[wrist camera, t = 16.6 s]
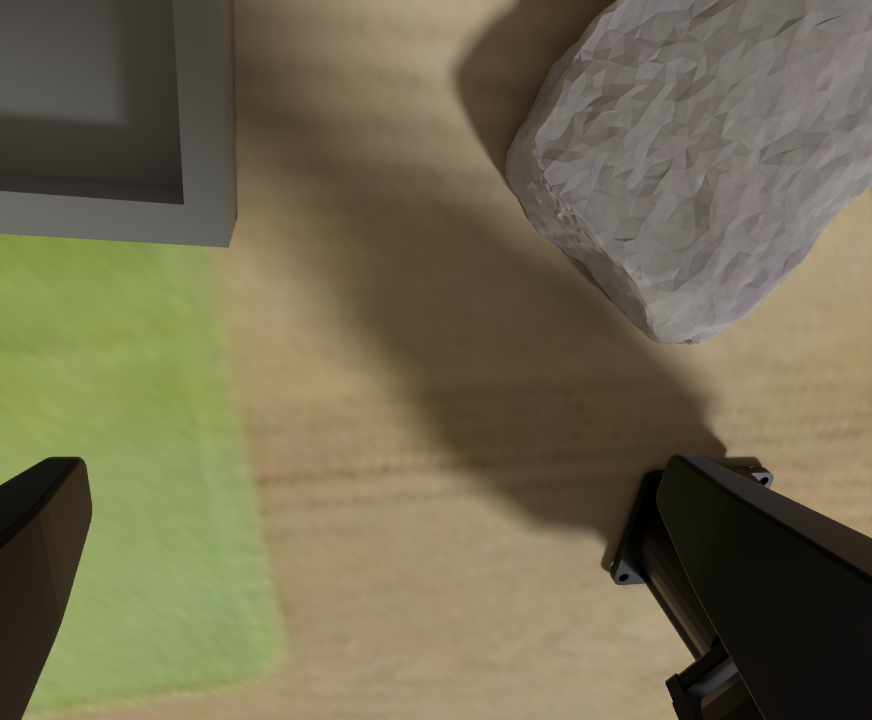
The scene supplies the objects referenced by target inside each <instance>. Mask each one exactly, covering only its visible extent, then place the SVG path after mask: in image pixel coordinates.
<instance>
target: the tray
mask: <svg viewBox="0 0 872 720" xmlns="http://www.w3.org/2000/svg"><path fill="white" fill-rule="evenodd" d="M236 220H237V173H236V116H235V58H234V1H233V0H0V234H15V235H31V236H48V237H64V238H81V239H97V240H114V241H130V242H146V243H163V244H179V245H196V246H212V247H229V244H230V240H231V237H232V234H233V230H234V227H235V223H236Z"/></svg>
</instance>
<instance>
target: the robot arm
mask: <svg viewBox="0 0 872 720" xmlns="http://www.w3.org/2000/svg"><path fill="white" fill-rule="evenodd" d="M656 481H657V482H656ZM655 482H656V483H655ZM772 482H773V475H772V474H771V473H770V472H769V471H768V470H767V469H766V468H763V467H753V468H724V467H722V466H720V465H718V464H716V463H714V462H712V461H710V460H708V459H706V458H704V457H702V456H699V455H696V454H675V455H673V456H672V457H671V458H670V459H669V460H668V462H667V465H666V468H665V470H656V471H652V472H650V473H648V474H647V475H646V476H645V477H644V479H643V481H642V484H641V487H640V489H639V492H638V495H637V498H636V501H635V504H634V506H633V509H632V512H631V515H630V518H629V521H628V524H627V526H626V529H625V532H624V535H623V538H622V541H621V544H620V546H619V549H618V552H617V555H616V558H615V561H614V563H613V566H612V569H611V572H610V575H611V577H612V579H613V581H614V582H615V584H617V585H630V584H642V583H646V585H647V586H648V588H649V590H650V591H651V593H652V594H653V596H654V597H655V599H656V600H657V602H658V603H659V605H660V606H661V608H662V609H663V611H664V612H665V614H666V616H667V617H668V619H669V620H670V622H671V623H672V625H673V626H674V628H675V629H676V631H677V632H678V634H679V635H680V637H681V638H682V640H683V642H684V643H685V645H686V646H687V648H688V649H689V651H690V652H691V654H692V655H693V657H694V658H695V660H696V661H695V662H694V663H692V664H691V665H690V666H689V667H687V668H686V669H685V670H683V671H682V672H681V673H680V674H676V673H675V674H674V675H673V676H672V677H670V678H669V679H668V680H666V681H665V683H666V686H667V688H668V690H669V693H670V695H671V698H672V700H673V703H672V704H673V707H674V709H675V712H676V714H677V717H678V719H679V720H872V538H870V537H868V536H866V535H864V534H862V533H860V532H858V531H855V530H853V529H851V528H849V527H847V526H845V525H843V524H841V523H839V522H837V521H835V520H833V519H831V518H828V517H826V516H824V515H822V514H820V513H818V512H816V511H814V510H812V509H810V508H808V507H806V506H804V505H801V504H799V503H797V502H795V501H793V500H791V499H789V498H787V497H785V496H783V495H781V494H779V493H776V492H774V491H772V490H770V489H769V488H770V486H771V484H772ZM91 518H92V501H91V494H90V487H89V480H88V474H87V467H86V464H85V462H84V460H83V459H82V458H80V457H49V458H46V459H44V460H43V461H41V462H39V463H37V464H36V465H34V466H32V467H31V468H29V469H27V470H25V471H24V472H22V473H20V474H19V475H17V476H15V477H13V478H12V479H10V480H8V481H7V482H5V483H3V484H2V485H0V720H21V719H22V717H23V715H24V712H25V710H26V707H27V705H28V703H29V700H30V698H31V696H32V693H33V691H34V689H35V686H36V684H37V681H38V679H39V677H40V674H41V672H42V670H43V667H44V665H45V662H46V660H47V658H48V655H49V653H50V651H51V648H52V646H53V643H54V641H55V638H56V636H57V633H58V631H59V628H60V626H61V623H62V619H63V616H64V613H65V610H66V607H67V603H68V600H69V596H70V593H71V589H72V586H73V582H74V579H75V575H76V572H77V568H78V565H79V561H80V558H81V554H82V551H83V547H84V544H85V540H86V537H87V533H88V530H89V526H90V523H91Z"/></svg>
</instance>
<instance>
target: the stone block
mask: <svg viewBox="0 0 872 720" xmlns="http://www.w3.org/2000/svg"><path fill="white" fill-rule="evenodd" d="M505 159H506V166H505V174H504V175H505V177H506V178H507V180H508V182H509V185H510V187H511V189H512V190H513V191H514V193H515V194H516V195H517V196H518V198H519V200H520V202H521V204H522V205H523V207H524V210H525V211H526V214H527V216H528V219H529V220H530V221H531V223H532V224H533V225H534V227H535V229H536V230H537V232H538V233H539V234H541V235H543V236H545V237H546V238H547V239H548V240H550V241H551V242H553V243H555V244H556V245H557V246H558V247H560V248H561V249H563V252H564V254H565V255H568V256H570V257H573V258H576V259H577V260H579V261H581V262H582V264H583V265H584V266H585V267H586V268H587V269H588V270H589V271H590V273H591V275H592V277H593V278H594V279H595V280H596V281H597V283H598V285H599V286H600V287H601V288H602V289H603V290H604V291H605V293H606V294H607V295H608V296H609V298H610V299H611V300H612V301H613V302H614V304H615V305H616V306H617V307H618V308H619V309H620V311H621V312H622V313H623V314H624V315H626V316H627V318H628V319H629V320H630V321H631V322H632V323H633V324H634V325H635V326H637V327H638V328H639V329H640V330H642V331H643V332H644V333H645V334H646V335H647V336H648V337H649V338H650V339H651V340H653V341H656V342H660V343H667V344H672V343H676V344H688V345H691V344H697V343H700V342H702V341H706V340H710V339H712V338H713V337H714V336H716V335H718V334H720V333H721V332H723V331H724V330H725V329H726V328H727V327H729V326H731V325H732V324H734V323H736V322H738V321H741V320H744V319H745V318H746V317H747V316H748V315H749V314H750V313H751V312H752V311H753V310H754V309H755V308H756V307H757V306H758V305H759V304H761V303H762V302H763V301H765V299H766V298H767V297H768V296H769V295H770V294H771V293H772V292H773V290H774V289H775V288H776V287H777V286H778V285H779V284H781V283H782V282H783V281H784V280H786V278H787V277H788V276H789V274H790V273H791V272H792V271H793V270H794V269H795V268H796V267H797V266H798V265H799V264H800V263H801V262H802V261H803V259H804V258H805V256H806V255H807V254H808V252H809V251H810V249H811V248H812V246H813V244H814V242H815V240H816V239H817V237H818V236H819V234H820V233H821V232H822V231H823V229H824V228H825V227H826V226H827V224H828V223H829V222H830V221H831V220H832V219H833V218H834V216H835V215H836V214H837V213H838V212H839V211H840V210H841V209H842V208H843V207H844V206H845V205H846V204H848V203H849V202H851V201H852V200H854V199H855V198H857V197H858V196H860V195H861V194H862V193H864V192H865V191H866V190H867V189H868V188H869V187H870V186H871V185H872V0H616V1H614V2H613V3H612V4H611V5H609V6H608V7H607V8H606V9H604V10H603V11H602V12H601V13H599V14H598V15H597V16H596V17H595V18H594V19H593V21H592V22H591V23H590V24H589V25H588V27H587V28H586V30H585V31H584V32H583V34H582V36H581V37H580V39H579V41H578V42H577V43H575V44H573V45H572V46H570V47H569V48H568V49H567V51H566V52H565V53H564V55H563V56H562V57H561V58H560V59H559V60H557V61H556V62H555V63H553V65H552V66H551V68H550V70H549V72H548V74H547V76H546V78H545V80H544V82H543V84H542V87H541V89H540V91H539V93H538V95H537V98H536V100H535V102H534V104H533V106H532V108H531V110H530V112H529V113H528V115H527V117H526V119H525V121H524V122H523V124H522V125H521V126H520V128H519V129H518V131H517V133H516V135H515V137H514V140H513V142H512V143H511V145H510V147H509V148H508V150H507V154H506V158H505Z"/></svg>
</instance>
